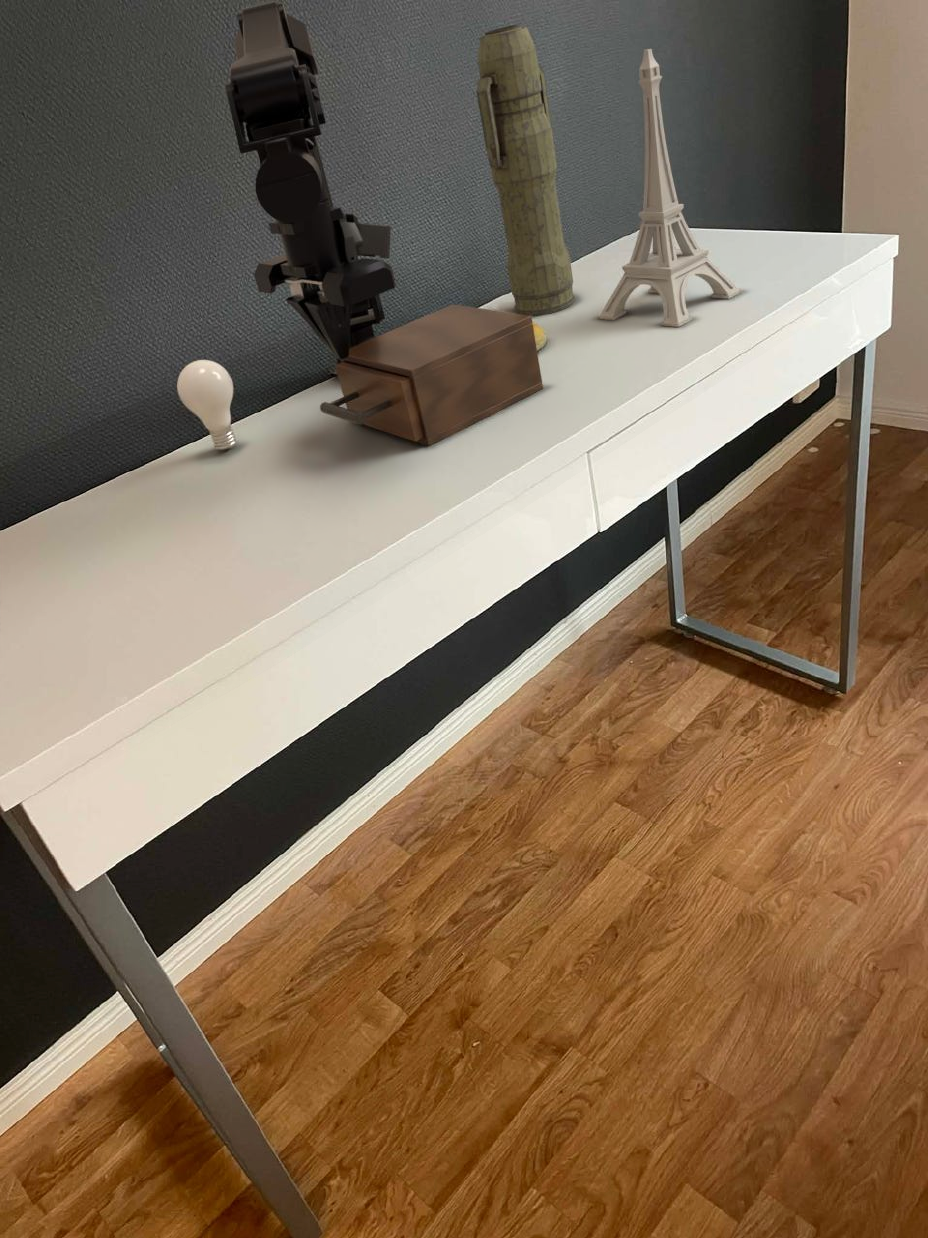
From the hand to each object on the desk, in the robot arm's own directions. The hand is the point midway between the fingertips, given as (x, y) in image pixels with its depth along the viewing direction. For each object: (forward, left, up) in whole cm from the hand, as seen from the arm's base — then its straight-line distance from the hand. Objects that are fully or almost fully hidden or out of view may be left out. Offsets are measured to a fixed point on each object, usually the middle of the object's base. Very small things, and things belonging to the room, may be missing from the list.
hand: (343, 357), depth 103 cm
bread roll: (-7, +29, -10) cm, 31 cm away
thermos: (-17, +44, -10) cm, 48 cm away
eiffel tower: (+2, +49, -10) cm, 50 cm away
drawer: (0, +8, -9) cm, 12 cm away
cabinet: (0, +12, -10) cm, 16 cm away
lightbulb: (-17, -9, -10) cm, 22 cm away
